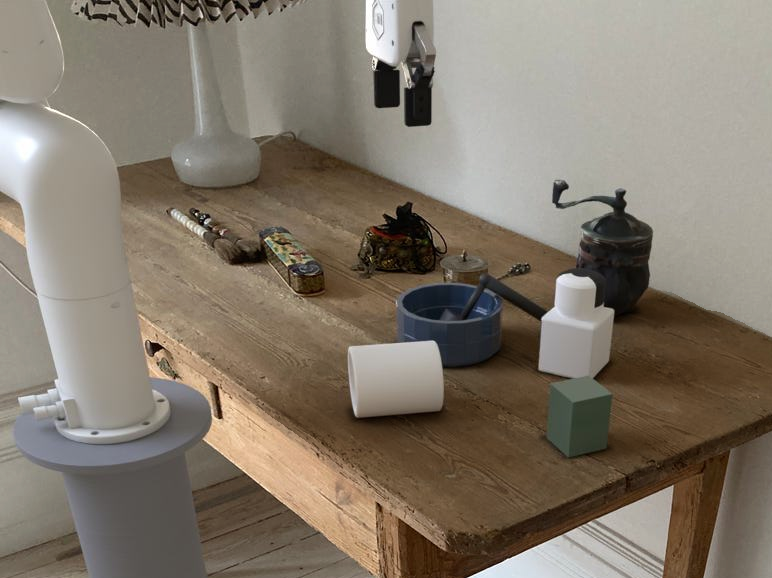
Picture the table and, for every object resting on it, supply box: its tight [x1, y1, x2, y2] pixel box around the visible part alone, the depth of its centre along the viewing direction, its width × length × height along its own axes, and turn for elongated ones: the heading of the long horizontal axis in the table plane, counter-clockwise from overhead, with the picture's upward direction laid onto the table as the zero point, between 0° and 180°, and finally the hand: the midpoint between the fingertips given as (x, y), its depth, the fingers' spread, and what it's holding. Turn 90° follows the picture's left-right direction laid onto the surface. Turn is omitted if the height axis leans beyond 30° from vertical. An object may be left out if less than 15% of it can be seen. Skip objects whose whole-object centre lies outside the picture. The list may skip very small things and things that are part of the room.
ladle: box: [439, 272, 549, 322], centre depth 137 cm, size 16×5×8 cm
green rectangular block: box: [545, 376, 613, 458], centre depth 114 cm, size 5×5×7 cm
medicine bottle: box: [537, 267, 615, 379], centre depth 128 cm, size 7×7×12 cm
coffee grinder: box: [551, 179, 654, 319], centre depth 140 cm, size 13×15×18 cm
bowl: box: [395, 282, 504, 368], centre depth 134 cm, size 14×14×6 cm
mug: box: [347, 341, 445, 419], centre depth 120 cm, size 12×10×8 cm
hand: (402, 116), depth 123 cm, fingers open, 9 cm apart
